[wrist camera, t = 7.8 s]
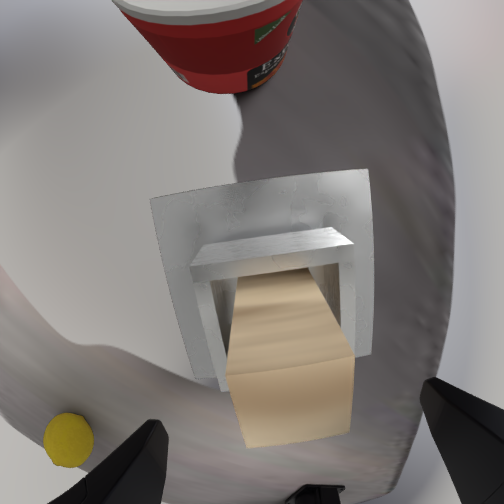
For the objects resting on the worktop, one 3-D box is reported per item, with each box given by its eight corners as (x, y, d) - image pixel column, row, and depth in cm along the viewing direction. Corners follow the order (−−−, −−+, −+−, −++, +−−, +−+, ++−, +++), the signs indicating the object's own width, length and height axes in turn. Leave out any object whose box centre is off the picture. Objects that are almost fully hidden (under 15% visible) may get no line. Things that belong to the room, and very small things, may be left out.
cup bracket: (366, 346, 22) (395, 396, 16) (197, 369, 22) (183, 427, 16) (361, 168, 18) (408, 169, 12) (155, 197, 19) (113, 210, 12)
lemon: (110, 434, 26) (88, 484, 18) (76, 428, 26) (51, 472, 18) (89, 401, 24) (59, 453, 16) (55, 396, 24) (23, 441, 17)
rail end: (311, 324, 18) (349, 432, 9) (248, 334, 18) (247, 448, 9) (306, 265, 17) (354, 355, 8) (238, 275, 17) (225, 375, 8)
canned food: (274, 107, 17) (300, 32, 7) (157, 91, 17) (70, 26, 6) (294, 16, 15) (325, -86, 5) (185, 3, 15) (142, -91, 4)
